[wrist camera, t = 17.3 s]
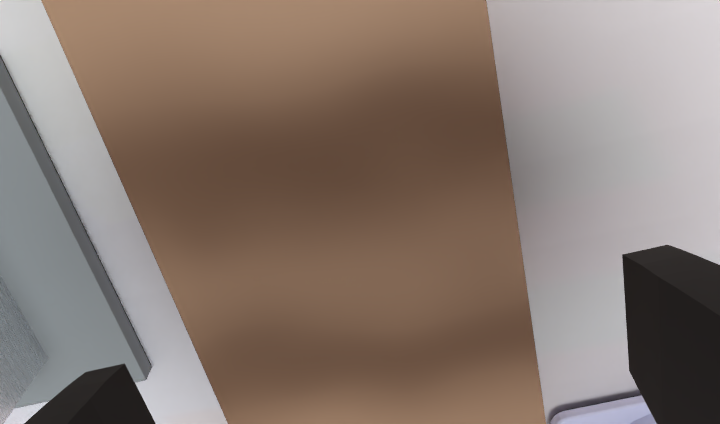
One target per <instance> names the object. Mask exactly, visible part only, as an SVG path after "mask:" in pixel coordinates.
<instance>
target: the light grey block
mask: <svg viewBox="0 0 720 424" xmlns="http://www.w3.org/2000/svg"><path fill="white" fill-rule="evenodd" d="M47 359H48V357H47V355H46V353H45V352H44V350H43V348H42V346H41V345H40V343H39V341H38V339H37V338H36V336H35V334H34V332H33V331H32V329H31V327H30V326H29V324H28V322H27V320H26V319H25V317H24V315H23V313H22V312H21V310H20V308H19V307H18V305H17V303H16V301H15V300H14V298H13V296H12V294H11V293H10V291H9V289H8V288H7V286H6V284H5V282H4V281H3V279H2V277H1V275H0V424H3V423H4V422H5V420H6V419H7V418H8V416H9V415H10V413H11V412H12V410H13V409H14V407H15V406H16V404H17V403H18V401H19V400H20V399H21V397H22V396H23V394H24V393H25V391H26V390H27V388H28V387H29V385H30V384H31V383H32V381H33V380H34V378H35V377H36V375H37V374H38V372H39V371H40V369H41V368H42V367H43V365H44V364H45V362H46V361H47Z"/></svg>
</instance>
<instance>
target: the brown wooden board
mask: <svg viewBox="0 0 720 424" xmlns="http://www.w3.org/2000/svg"><path fill="white" fill-rule="evenodd" d="M41 1H42V3H43V5H44V7H45V10H46V12H47V14H48V16H49V19H50V21H51V23H52V25H53V28H54V30H55V32H56V35H57V37H58V39H59V41H60V44H61V46H62V48H63V50H64V53H65V55H66V57H67V59H68V62H69V64H70V66H71V69H72V71H73V73H74V75H75V78H76V80H77V82H78V84H79V87H80V89H81V91H82V93H83V96H84V98H85V100H86V103H87V105H88V107H89V109H90V112H91V114H92V116H93V118H94V121H95V123H96V125H97V128H98V130H99V132H100V134H101V137H102V139H103V141H104V143H105V146H106V148H107V150H108V152H109V155H110V157H111V159H112V162H113V164H114V166H115V168H116V171H117V173H118V175H119V177H120V180H121V182H122V184H123V186H124V189H125V191H126V193H127V196H128V198H129V200H130V202H131V205H132V207H133V209H134V211H135V214H136V216H137V218H138V220H139V223H140V225H141V227H142V230H143V232H144V234H145V236H146V239H147V241H148V243H149V245H150V248H151V250H152V252H153V254H154V257H155V259H156V261H157V264H158V266H159V268H160V270H161V273H162V275H163V277H164V279H165V282H166V284H167V286H168V289H169V291H170V293H171V295H172V298H173V300H174V302H175V304H176V307H177V309H178V311H179V313H180V316H181V318H182V320H183V323H184V325H185V327H186V329H187V332H188V334H189V336H190V338H191V341H192V343H193V345H194V347H195V350H196V352H197V354H198V357H199V359H200V361H201V363H202V366H203V368H204V370H205V372H206V375H207V377H208V379H209V381H210V384H211V386H212V388H213V391H214V393H215V395H216V397H217V400H218V402H219V404H220V406H221V409H222V411H223V413H224V416H225V418H226V420H227V422H228V424H546V420H545V413H544V406H543V399H542V392H541V385H540V378H539V371H538V364H537V357H536V350H535V342H534V335H533V328H532V321H531V314H530V307H529V300H528V293H527V286H526V279H525V272H524V265H523V258H522V251H521V243H520V236H519V229H518V222H517V215H516V208H515V201H514V194H513V187H512V180H511V173H510V166H509V159H508V152H507V145H506V137H505V130H504V123H503V116H502V109H501V102H500V95H499V88H498V81H497V74H496V67H495V60H494V53H493V46H492V39H491V31H490V24H489V17H488V10H487V3H486V0H41Z"/></svg>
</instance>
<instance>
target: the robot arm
mask: <svg viewBox="0 0 720 424" xmlns="http://www.w3.org/2000/svg"><path fill="white" fill-rule="evenodd" d="M622 256H623V273H624V289H625V306H626V323H627V340H628V356H629V371H630V373H631V375H632V377H633V379H634V381H635V383H636V385H637V387H638V389H639V391H640V393H641V396H636V397H631V398H626V399H621V400H616V401H611V402H606V403H601V404H596V405H591V406H586V407H581V408H576V409H571V410H566V411H562V412H560V413H558V414H556V415H555V416H554V417H553V419H552V420H551V424H720V265H718V264H715V263H713V262H711V261H708V260H706V259H703V258H701V257H699V256H696V255H694V254H691V253H689V252H686V251H683V250H681V249H678V248H675V247H672V246H669V245H665V246H660V247H655V248H651V249H646V250H642V251H637V252H633V253H628V254H623V255H622ZM24 424H155V422H154V420H153V418H152V416H151V414H150V412H149V410H148V408H147V406H146V404H145V402H144V400H143V398H142V396H141V394H140V392H139V390H138V388H137V386H136V384H135V383H134V381H133V379H132V377H131V375H130V373H129V371H128V369H127V367H126V365H125V363H124V364H120V365H115V366H111V367H106V368H102V369H97V370H92V371H88V372H85V373H84V374H82V375H81V376H80V377H78V378H77V379H76V380H74V381H73V382H72V383H70V384H69V385H68V386H67V387H66V388H64V389H63V390H62V391H61V392H60V393H58V394H57V395H56V396H55V397H54V398H53V399H51V400H50V401H49V402H48V403H47V404H46V405H45V406H43V407H42V408H41V409H40V410H39V411H38V412H37V413H36V414H34V415H33V416H32V417H31V418H30V419H29V420H28V421H27V422H26V423H24Z"/></svg>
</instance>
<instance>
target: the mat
mask: <svg viewBox="0 0 720 424" xmlns="http://www.w3.org/2000/svg"><path fill="white" fill-rule="evenodd" d="M0 275H1V277H2V279H3V281H4V282H5V284H6V286H7V288H8V289H9V291H10V293H11V294H12V296H13V298H14V300H15V301H16V303H17V305H18V307H19V308H20V310H21V312H22V313H23V315H24V317H25V319H26V320H27V322H28V324H29V326H30V327H31V329H32V331H33V332H34V334H35V336H36V338H37V339H38V341H39V343H40V345H41V346H42V348H43V350H44V352H45V353H46V355H47V357H48V359H47V361H46V362H45V364H44V365H43V367H42V368H41V369H40V371H39V372H38V374H37V375H36V377H35V378H34V380H33V381H32V383H31V384H30V385H29V387H28V388H27V390H26V391H25V393H24V394H23V396H22V397H21V399H20V400H19V401H18V403H17V404H16V406H15V407H14V408H19V407H24V406H28V405H33V404H37V403H42V402H47V401H50V400H51V399H53V398H54V397H55V396H56V395H57V394H58V393H60V392H61V391H62V390H63V389H64V388H66V387H67V386H68V385H69V384H70V383H72V382H73V381H74V380H76V379H77V378H78V377H80V376H81V375H82V374H84V373H85V372H88V371H92V370H97V369H102V368H106V367H111V366H115V365H120V364H124V363H125V365H126V367H127V369H128V371H129V373H130V375H131V377H132V379H133V381H134V383H135V382H139V381H144V380H146V379H147V377H148V374H149V372H150V370H151V365H150V363H149V361H148V359H147V357H146V355H145V353H144V351H143V349H142V347H141V344H140V342H139V340H138V338H137V336H136V334H135V332H134V330H133V328H132V326H131V324H130V322H129V320H128V318H127V316H126V314H125V312H124V310H123V307H122V305H121V303H120V301H119V299H118V297H117V295H116V293H115V291H114V289H113V287H112V285H111V283H110V281H109V279H108V277H107V275H106V273H105V271H104V268H103V266H102V264H101V262H100V260H99V258H98V256H97V254H96V252H95V250H94V248H93V246H92V244H91V242H90V240H89V238H88V236H87V234H86V232H85V229H84V227H83V225H82V223H81V221H80V219H79V217H78V215H77V213H76V211H75V209H74V207H73V205H72V203H71V201H70V199H69V197H68V195H67V193H66V190H65V188H64V186H63V184H62V182H61V180H60V178H59V176H58V174H57V172H56V170H55V168H54V166H53V164H52V162H51V160H50V158H49V156H48V154H47V151H46V149H45V147H44V145H43V143H42V141H41V139H40V137H39V135H38V133H37V131H36V129H35V127H34V125H33V123H32V121H31V119H30V117H29V115H28V112H27V110H26V108H25V106H24V104H23V102H22V100H21V98H20V96H19V94H18V92H17V90H16V88H15V86H14V84H13V82H12V80H11V78H10V76H9V73H8V71H7V69H6V67H5V65H4V63H3V61H2V59H1V57H0Z"/></svg>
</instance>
